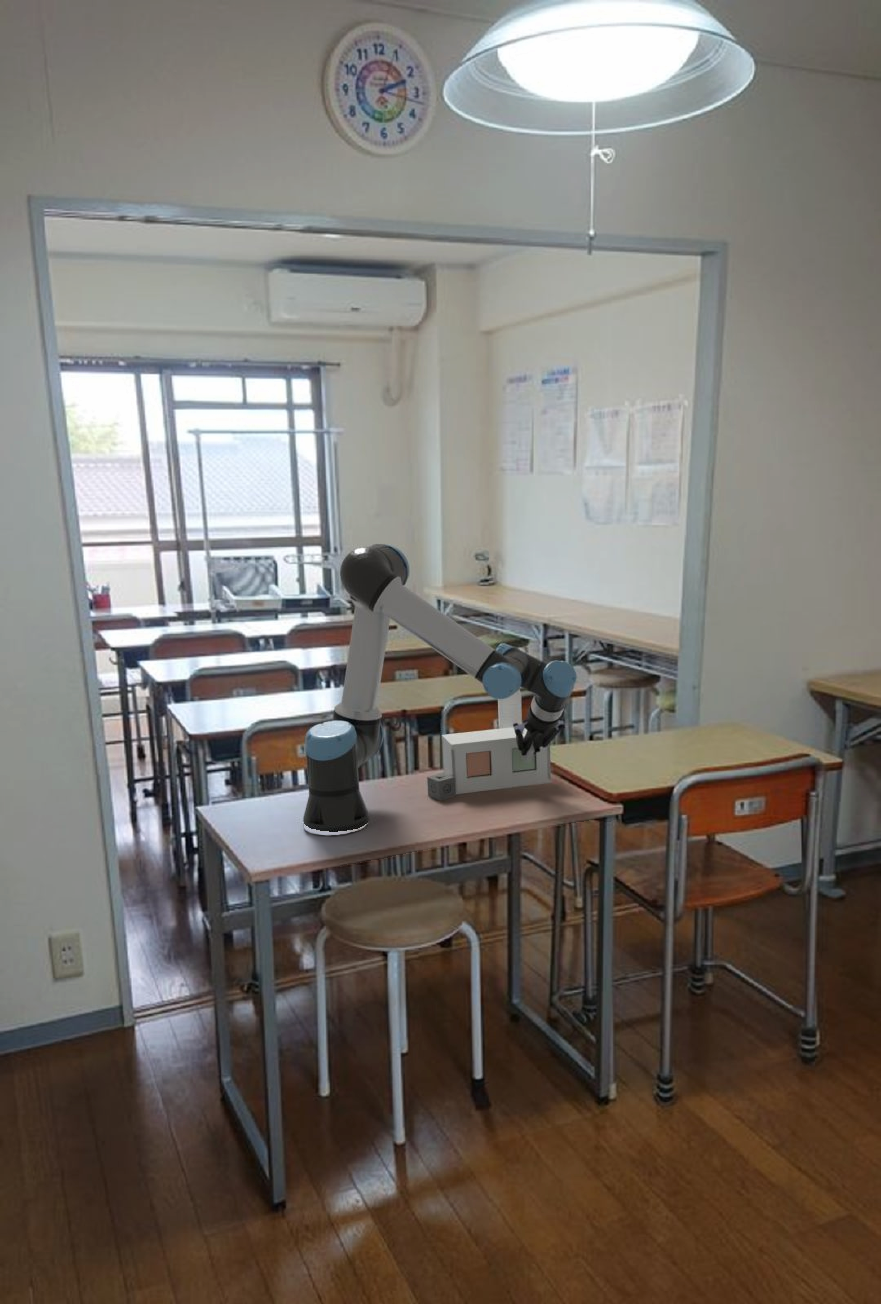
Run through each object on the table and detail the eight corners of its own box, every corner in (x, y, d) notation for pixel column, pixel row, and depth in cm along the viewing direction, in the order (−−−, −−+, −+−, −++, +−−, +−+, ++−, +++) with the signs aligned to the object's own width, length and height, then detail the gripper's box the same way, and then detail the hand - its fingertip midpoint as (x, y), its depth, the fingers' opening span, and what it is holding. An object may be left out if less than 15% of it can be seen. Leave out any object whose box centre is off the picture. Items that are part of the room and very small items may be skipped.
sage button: (512, 771, 234) (512, 748, 233) (504, 763, 240) (503, 741, 239) (534, 768, 235) (534, 746, 234) (526, 761, 242) (525, 739, 241)
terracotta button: (467, 776, 231) (466, 753, 230) (460, 769, 238) (459, 746, 237) (490, 774, 232) (489, 751, 231) (482, 766, 239) (481, 744, 238)
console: (453, 794, 230) (451, 744, 228) (444, 782, 240) (441, 734, 237) (550, 782, 236) (549, 733, 234) (537, 771, 245) (536, 724, 243)
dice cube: (428, 796, 230) (427, 776, 229) (444, 791, 233) (443, 772, 232) (439, 800, 226) (438, 781, 225) (455, 796, 229) (454, 777, 228)
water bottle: (495, 764, 254) (492, 676, 250) (513, 759, 258) (510, 672, 253) (515, 771, 247) (512, 680, 243) (533, 766, 250) (531, 677, 246)
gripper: (523, 725, 210) (504, 775, 229) (576, 720, 213) (553, 769, 232) (515, 698, 214) (497, 749, 233) (567, 693, 217) (545, 743, 236)
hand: (525, 759), depth 232 cm, fingers closed
